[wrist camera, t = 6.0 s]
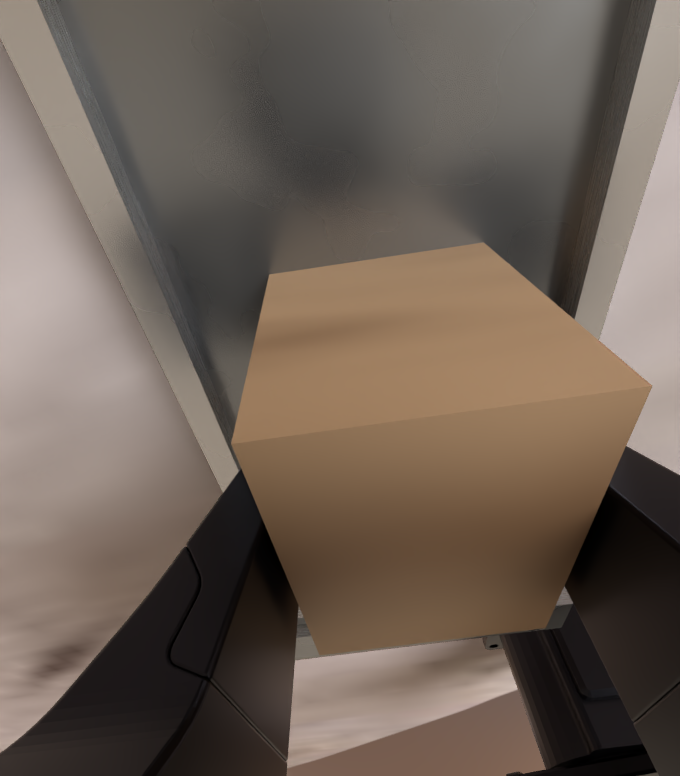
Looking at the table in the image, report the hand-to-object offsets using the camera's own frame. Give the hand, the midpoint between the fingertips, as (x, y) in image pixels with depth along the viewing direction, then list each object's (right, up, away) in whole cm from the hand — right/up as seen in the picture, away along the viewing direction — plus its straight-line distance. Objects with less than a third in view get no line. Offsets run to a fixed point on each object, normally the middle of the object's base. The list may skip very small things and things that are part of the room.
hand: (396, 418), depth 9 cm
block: (0, +1, +1) cm, 2 cm away
